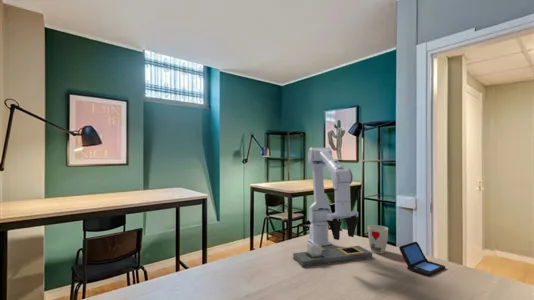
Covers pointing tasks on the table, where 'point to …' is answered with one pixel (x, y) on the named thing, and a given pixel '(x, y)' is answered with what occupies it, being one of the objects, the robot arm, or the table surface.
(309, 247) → the steel block
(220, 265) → the table surface
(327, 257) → the grey slotted board
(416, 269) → the handheld game console
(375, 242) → the cup
